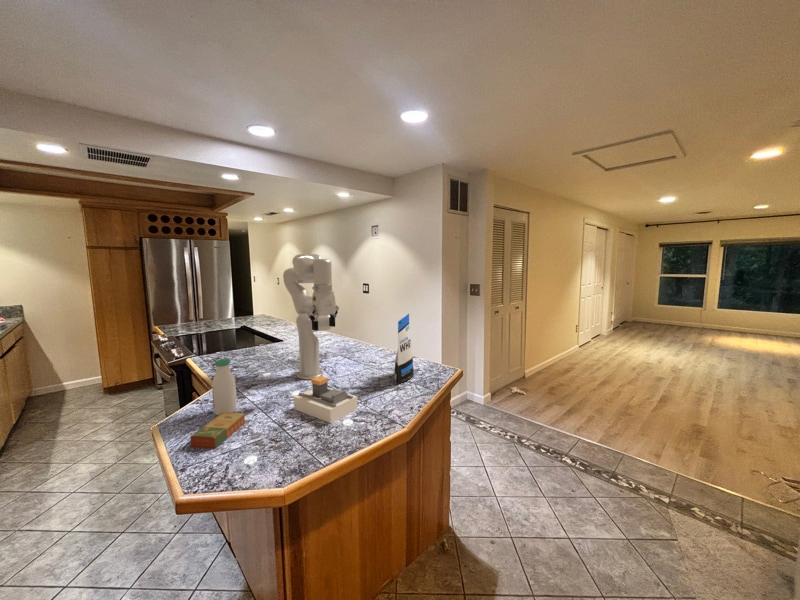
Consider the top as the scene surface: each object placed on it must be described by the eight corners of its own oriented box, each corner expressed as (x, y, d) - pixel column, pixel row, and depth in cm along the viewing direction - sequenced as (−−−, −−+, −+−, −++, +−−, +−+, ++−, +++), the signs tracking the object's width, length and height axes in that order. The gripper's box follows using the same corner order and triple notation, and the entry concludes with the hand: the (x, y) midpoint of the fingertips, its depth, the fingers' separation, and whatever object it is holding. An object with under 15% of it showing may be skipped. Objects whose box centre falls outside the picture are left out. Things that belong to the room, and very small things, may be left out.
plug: (320, 408, 125) (319, 381, 124) (311, 405, 128) (311, 379, 127) (329, 403, 129) (328, 378, 128) (320, 401, 132) (319, 375, 130)
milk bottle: (241, 408, 127) (238, 358, 125) (225, 417, 120) (221, 364, 118) (226, 405, 130) (223, 356, 127) (209, 414, 122) (205, 362, 120)
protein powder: (388, 384, 152) (388, 321, 148) (400, 368, 175) (400, 313, 172) (408, 386, 150) (408, 322, 146) (417, 369, 173) (418, 313, 170)
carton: (245, 424, 116) (244, 412, 115) (215, 450, 100) (215, 436, 99) (222, 423, 116) (222, 411, 116) (190, 448, 101) (189, 435, 100)
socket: (294, 409, 127) (293, 394, 126) (321, 396, 138) (321, 383, 138) (330, 423, 116) (330, 407, 115) (357, 408, 127) (357, 394, 126)
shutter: (320, 400, 123) (320, 392, 122) (334, 393, 128) (334, 386, 128) (334, 404, 119) (333, 396, 118) (347, 398, 125) (347, 390, 124)
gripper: (312, 290, 130) (314, 332, 132) (343, 287, 144) (344, 325, 146) (300, 289, 134) (301, 330, 136) (331, 286, 148) (332, 324, 150)
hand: (324, 328), depth 141 cm, fingers open, 9 cm apart
